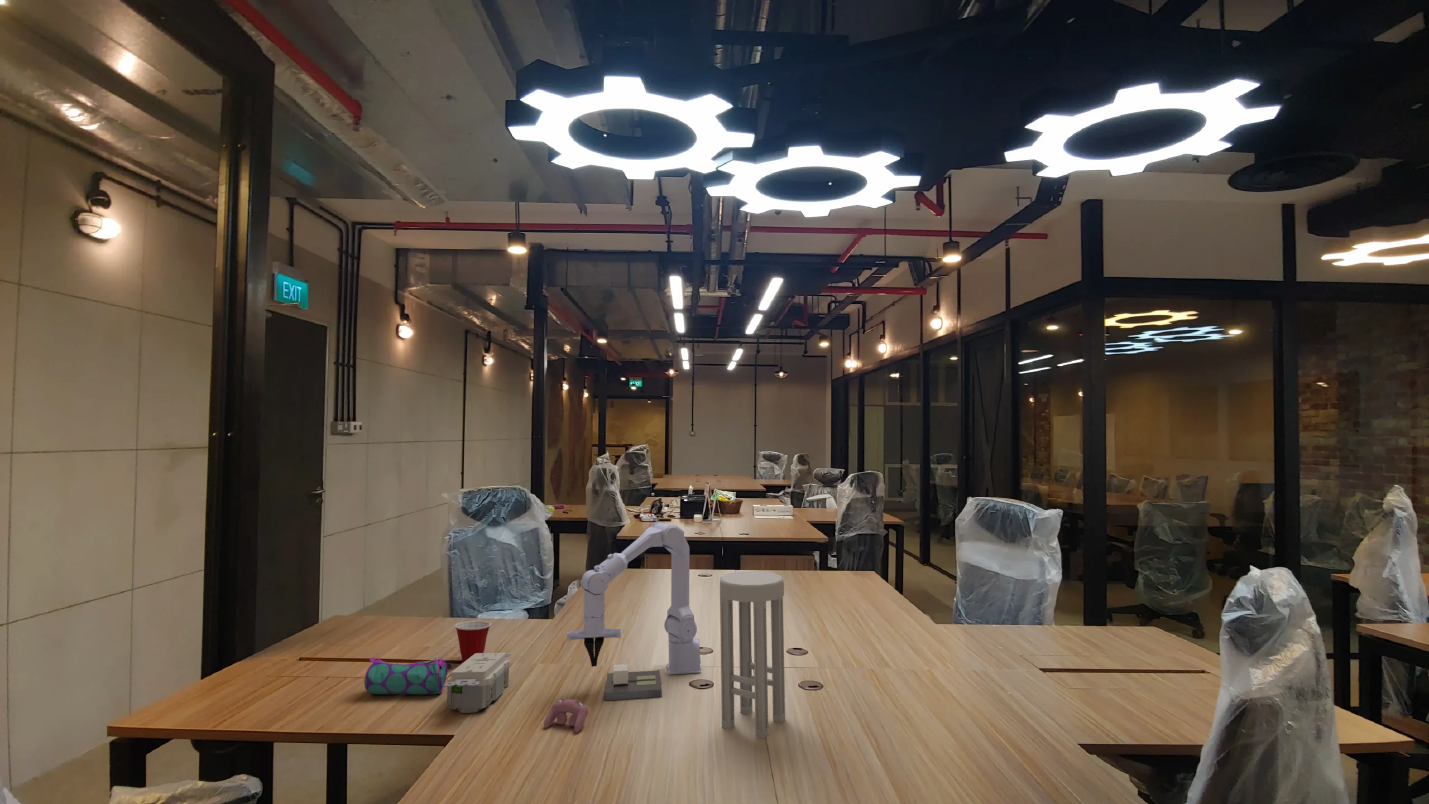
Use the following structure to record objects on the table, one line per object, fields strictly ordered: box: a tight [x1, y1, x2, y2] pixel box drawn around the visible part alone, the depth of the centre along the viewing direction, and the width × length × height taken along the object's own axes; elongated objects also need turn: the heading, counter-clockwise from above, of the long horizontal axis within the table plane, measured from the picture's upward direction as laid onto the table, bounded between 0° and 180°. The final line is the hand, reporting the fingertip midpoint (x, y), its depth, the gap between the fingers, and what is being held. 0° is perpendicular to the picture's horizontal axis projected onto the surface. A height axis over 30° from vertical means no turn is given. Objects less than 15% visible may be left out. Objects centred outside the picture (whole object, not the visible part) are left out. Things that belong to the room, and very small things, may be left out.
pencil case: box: [363, 656, 453, 696], centre depth 175 cm, size 21×9×10 cm, turn 92°
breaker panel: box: [604, 670, 663, 701], centre depth 176 cm, size 15×14×2 cm
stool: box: [719, 570, 786, 740], centre depth 154 cm, size 16×16×35 cm
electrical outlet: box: [443, 652, 512, 714], centre depth 170 cm, size 12×28×10 cm, turn 1°
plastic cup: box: [454, 620, 492, 663], centre depth 198 cm, size 11×11×12 cm
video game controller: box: [543, 698, 589, 734], centre depth 154 cm, size 10×5×7 cm, turn 71°
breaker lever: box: [612, 663, 629, 684], centre depth 175 cm, size 4×5×4 cm
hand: (594, 665), depth 174 cm, fingers closed
